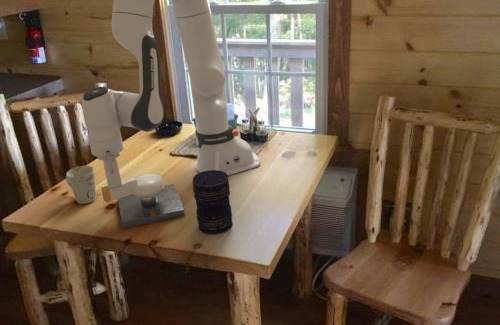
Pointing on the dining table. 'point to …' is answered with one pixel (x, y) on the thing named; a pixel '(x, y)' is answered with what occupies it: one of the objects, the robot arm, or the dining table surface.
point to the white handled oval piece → (135, 188)
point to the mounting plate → (150, 208)
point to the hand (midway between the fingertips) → (115, 188)
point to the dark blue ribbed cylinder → (212, 202)
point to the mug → (82, 183)
